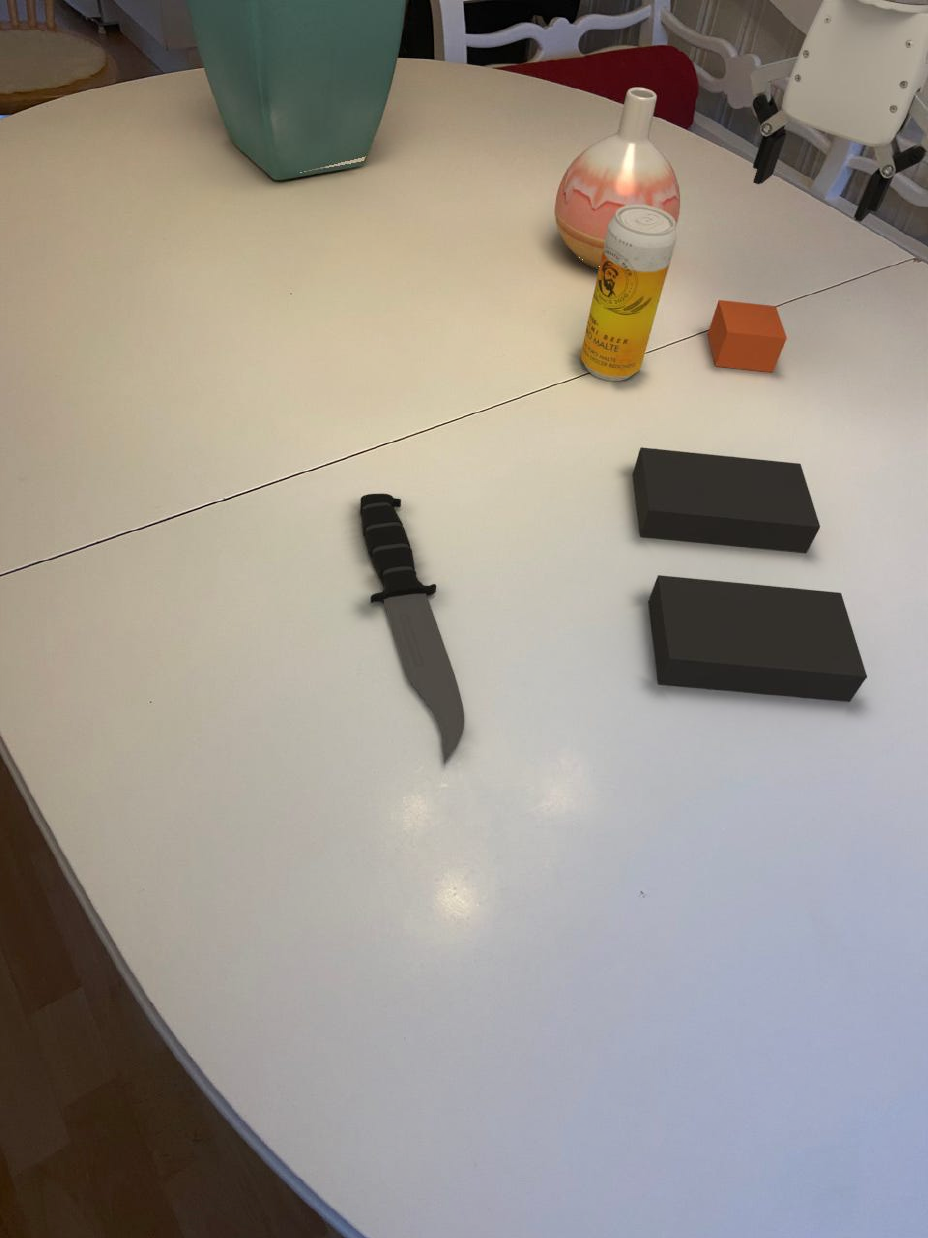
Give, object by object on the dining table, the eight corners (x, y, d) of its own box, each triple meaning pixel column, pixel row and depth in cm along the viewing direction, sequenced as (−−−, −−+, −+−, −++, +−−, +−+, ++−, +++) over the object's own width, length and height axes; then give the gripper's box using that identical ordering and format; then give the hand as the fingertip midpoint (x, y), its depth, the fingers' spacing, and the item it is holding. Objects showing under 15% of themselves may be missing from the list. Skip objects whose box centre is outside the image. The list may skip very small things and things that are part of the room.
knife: (497, 747, 59) (421, 762, 58) (494, 760, 60) (420, 775, 59) (403, 489, 75) (342, 496, 73) (402, 503, 76) (342, 511, 75)
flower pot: (330, 113, 126) (327, -153, 105) (408, 173, 116) (422, -107, 95) (191, 135, 118) (157, -150, 96) (263, 202, 107) (242, -99, 86)
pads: (788, 489, 82) (800, 463, 80) (849, 702, 67) (867, 676, 64) (632, 473, 81) (640, 446, 79) (658, 684, 66) (669, 658, 64)
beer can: (566, 360, 92) (596, 211, 81) (608, 342, 95) (643, 196, 84) (610, 391, 89) (647, 241, 78) (652, 371, 92) (694, 224, 81)
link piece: (762, 340, 98) (776, 305, 95) (773, 372, 94) (787, 337, 91) (707, 334, 98) (718, 299, 95) (715, 366, 94) (727, 331, 91)
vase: (522, 248, 106) (547, 80, 93) (602, 219, 113) (636, 59, 100) (609, 301, 100) (649, 130, 87) (688, 268, 107) (736, 104, 94)
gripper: (1020, -4, 70) (915, 216, 83) (807, -62, 76) (740, 154, 89) (996, 16, 66) (890, 245, 79) (773, -46, 72) (708, 178, 84)
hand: (811, 197), depth 84 cm, fingers open, 9 cm apart
